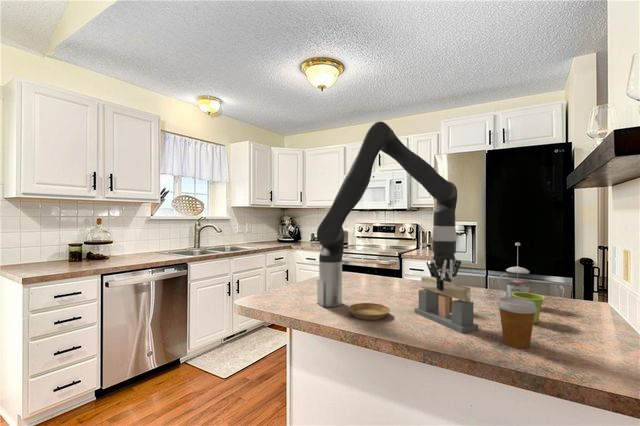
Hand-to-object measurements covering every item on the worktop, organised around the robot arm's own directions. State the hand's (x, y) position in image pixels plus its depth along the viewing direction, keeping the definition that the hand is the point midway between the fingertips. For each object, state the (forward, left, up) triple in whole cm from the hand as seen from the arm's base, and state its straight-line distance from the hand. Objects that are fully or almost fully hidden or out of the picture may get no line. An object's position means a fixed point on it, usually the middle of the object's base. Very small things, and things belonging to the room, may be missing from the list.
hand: (443, 289), depth 111 cm
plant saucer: (-20, +15, -11) cm, 28 cm away
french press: (+41, +4, -11) cm, 42 cm away
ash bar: (0, 0, -1) cm, 1 cm away
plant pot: (+27, -11, -11) cm, 31 cm away
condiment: (+10, +11, -11) cm, 18 cm away
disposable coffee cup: (+5, -23, -11) cm, 26 cm away
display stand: (0, 0, -10) cm, 10 cm away
